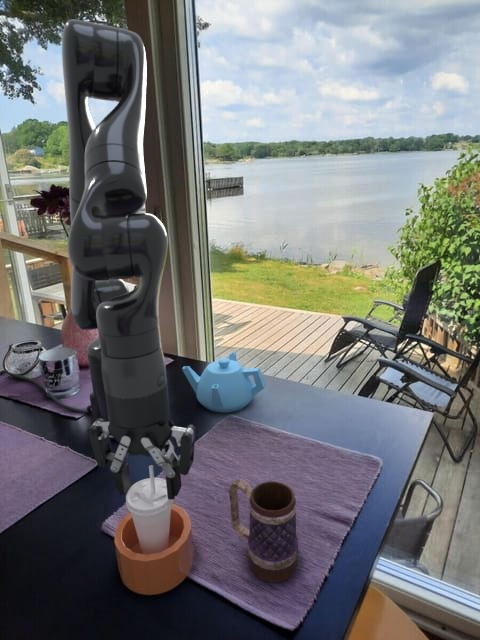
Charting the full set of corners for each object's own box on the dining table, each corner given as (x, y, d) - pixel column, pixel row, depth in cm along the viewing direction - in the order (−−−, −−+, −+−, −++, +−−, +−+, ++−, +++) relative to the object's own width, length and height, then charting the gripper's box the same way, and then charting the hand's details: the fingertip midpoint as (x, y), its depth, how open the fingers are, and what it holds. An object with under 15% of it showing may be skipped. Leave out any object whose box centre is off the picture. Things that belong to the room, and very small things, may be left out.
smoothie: (168, 571, 59) (161, 485, 54) (124, 563, 60) (113, 479, 56) (183, 534, 65) (178, 453, 60) (143, 527, 66) (134, 448, 62)
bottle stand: (106, 589, 59) (100, 555, 57) (137, 530, 69) (132, 498, 67) (181, 600, 57) (177, 565, 56) (201, 537, 67) (199, 505, 65)
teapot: (213, 424, 97) (210, 380, 93) (182, 397, 109) (179, 357, 105) (269, 404, 104) (268, 362, 101) (235, 380, 117) (233, 343, 113)
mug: (306, 556, 63) (308, 487, 59) (283, 594, 58) (282, 521, 54) (247, 527, 69) (245, 462, 65) (220, 559, 63) (216, 490, 59)
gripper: (200, 370, 56) (207, 479, 62) (95, 365, 59) (111, 470, 64) (183, 399, 49) (192, 519, 55) (65, 392, 52) (85, 507, 57)
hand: (149, 492), depth 59 cm, fingers closed on smoothie, 6 cm apart
